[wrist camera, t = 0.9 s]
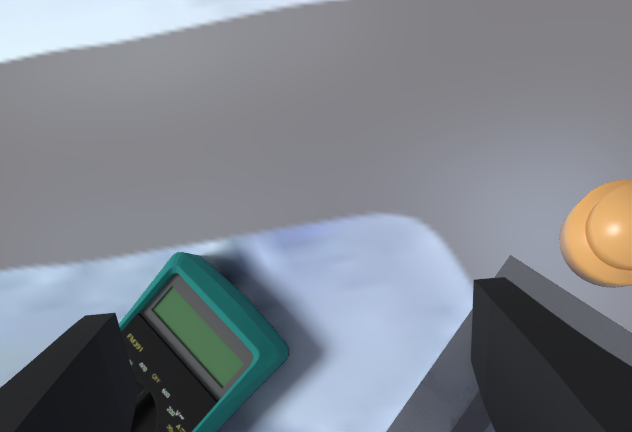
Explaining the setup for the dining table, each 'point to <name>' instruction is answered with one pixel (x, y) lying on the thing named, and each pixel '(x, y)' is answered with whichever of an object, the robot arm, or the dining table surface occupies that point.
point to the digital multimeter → (196, 348)
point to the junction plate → (457, 372)
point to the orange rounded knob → (601, 235)
